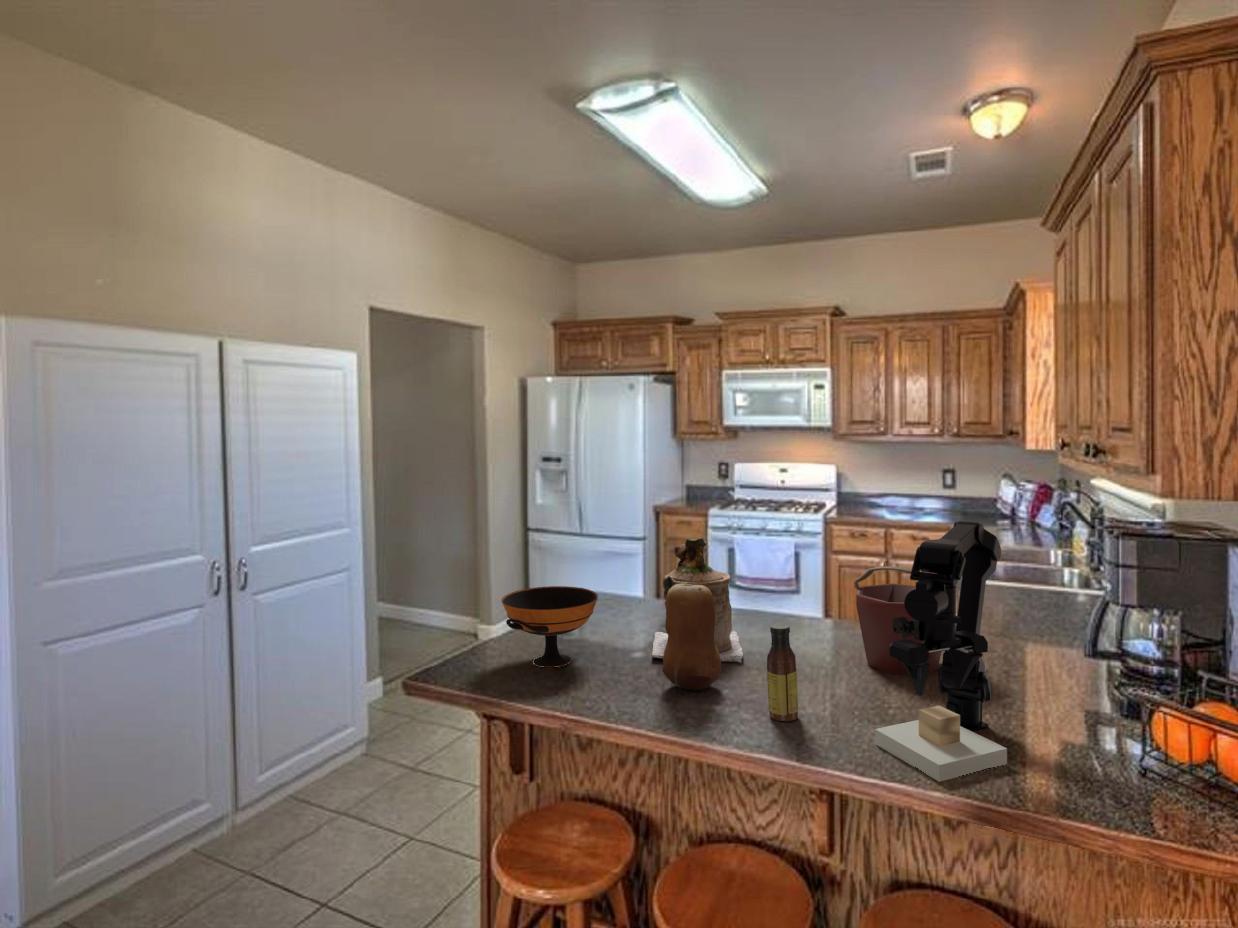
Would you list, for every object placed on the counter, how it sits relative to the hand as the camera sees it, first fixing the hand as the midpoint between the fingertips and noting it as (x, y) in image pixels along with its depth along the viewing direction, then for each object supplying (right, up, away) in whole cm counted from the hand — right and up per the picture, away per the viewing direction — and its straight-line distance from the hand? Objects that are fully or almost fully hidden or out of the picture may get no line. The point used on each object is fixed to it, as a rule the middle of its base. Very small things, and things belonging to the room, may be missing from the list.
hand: (938, 691), depth 134 cm
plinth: (0, -12, +1) cm, 12 cm away
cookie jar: (-38, -9, +66) cm, 77 cm away
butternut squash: (-43, -11, +36) cm, 57 cm away
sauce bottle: (-25, -12, +19) cm, 33 cm away
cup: (-78, -11, +57) cm, 97 cm away
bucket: (+13, -9, +50) cm, 53 cm away
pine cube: (0, -9, 0) cm, 9 cm away
